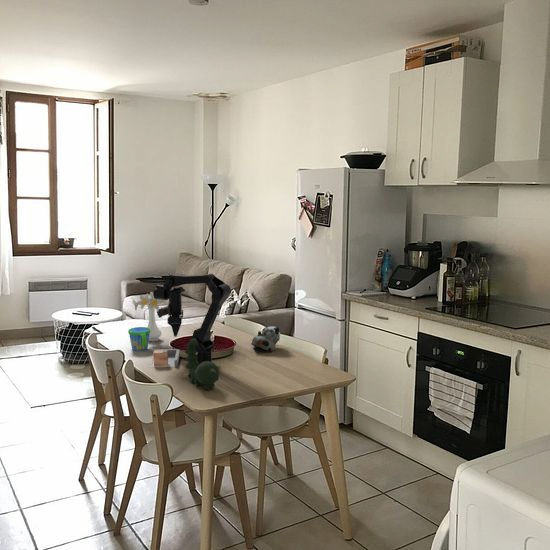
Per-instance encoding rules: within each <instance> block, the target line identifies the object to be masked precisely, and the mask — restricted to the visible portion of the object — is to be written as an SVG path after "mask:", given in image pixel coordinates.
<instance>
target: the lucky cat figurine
mask: <svg viewBox="0 0 550 550" xmlns="http://www.w3.org/2000/svg"><path fill="white" fill-rule="evenodd" d="M263 330H264V331H263V333H262V331H261V330H259V331H257V335H255V336H253V338H252V339H251V343H250V346H253V347H254V348H260V349H263V350H265V351H267V352H269V353H273V351H275V350H276V345H277V344H278V342H279V341H280V339H281V338H280V337H281V332H280V327H279V326H277V327H276V326H268V327H266V328H264V329H263Z"/></svg>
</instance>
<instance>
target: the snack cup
mask: <svg viewBox="0 0 550 550" xmlns="http://www.w3.org/2000/svg"><path fill="white" fill-rule="evenodd" d="M147 327H148V326H147ZM147 327H146V326H138V327H137V326H136V327H131V328H128V330H127V331H128V335H129V339H130V340H129V341H130V345H131V350H132V351H134V352H135V351H136V352H141V351H142V352H143V351H145V350H148V348H149V343H150V341H149V334H150V332H151V331H150V328H147Z"/></svg>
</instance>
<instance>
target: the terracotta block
mask: <svg viewBox="0 0 550 550" xmlns="http://www.w3.org/2000/svg"><path fill="white" fill-rule="evenodd" d="M159 350H160V351H153V353H152V354H153V355H152V356H153V357H154V366H167V365H168V350H162V349H159Z"/></svg>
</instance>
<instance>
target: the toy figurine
mask: <svg viewBox="0 0 550 550" xmlns="http://www.w3.org/2000/svg"><path fill="white" fill-rule="evenodd" d="M195 345H196V346H198V341H197V340H196V339H192V338H191V339H190V341H189V342H188V343H187V344H186V345H185V348H186V350H185V351H184V353H185V354H186V355H187V356H186V357H185V359H184V360H185V361H187V364H186V366H185V367H186V369H187V370H188V372H189V373H187V377H188V379H190V383H191V382H192V383H191V384H194V385H195V386H199V385H203V387H204V389H205V390H206V389H207V390H206V391H209V390H208V389H210V390H213V389H214V388H215V383H216V382H217V381H219V380H220V369H219V367H218V365H217V364H216V363H214V362H213V361H212V362H210V361H205V362H202V363H201V364H200V365H199V363H198V361H197V356H196V353H197V352H196V349H195Z"/></svg>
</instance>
